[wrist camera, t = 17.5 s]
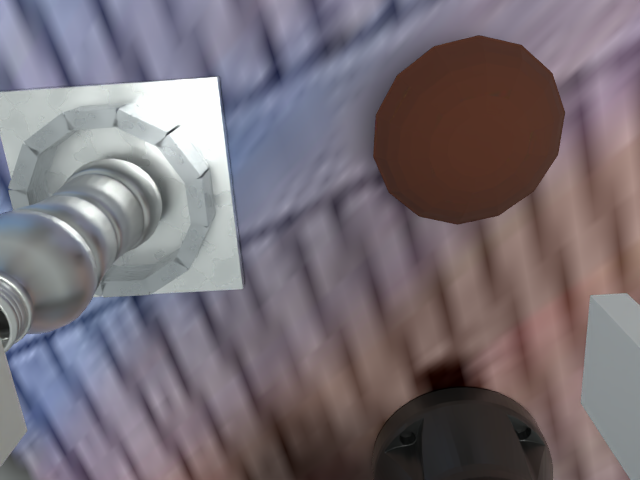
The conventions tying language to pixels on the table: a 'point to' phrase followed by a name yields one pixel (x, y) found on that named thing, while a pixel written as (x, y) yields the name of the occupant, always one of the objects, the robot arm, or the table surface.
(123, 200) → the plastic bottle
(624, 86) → the table surface
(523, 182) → the muffin
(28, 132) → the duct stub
